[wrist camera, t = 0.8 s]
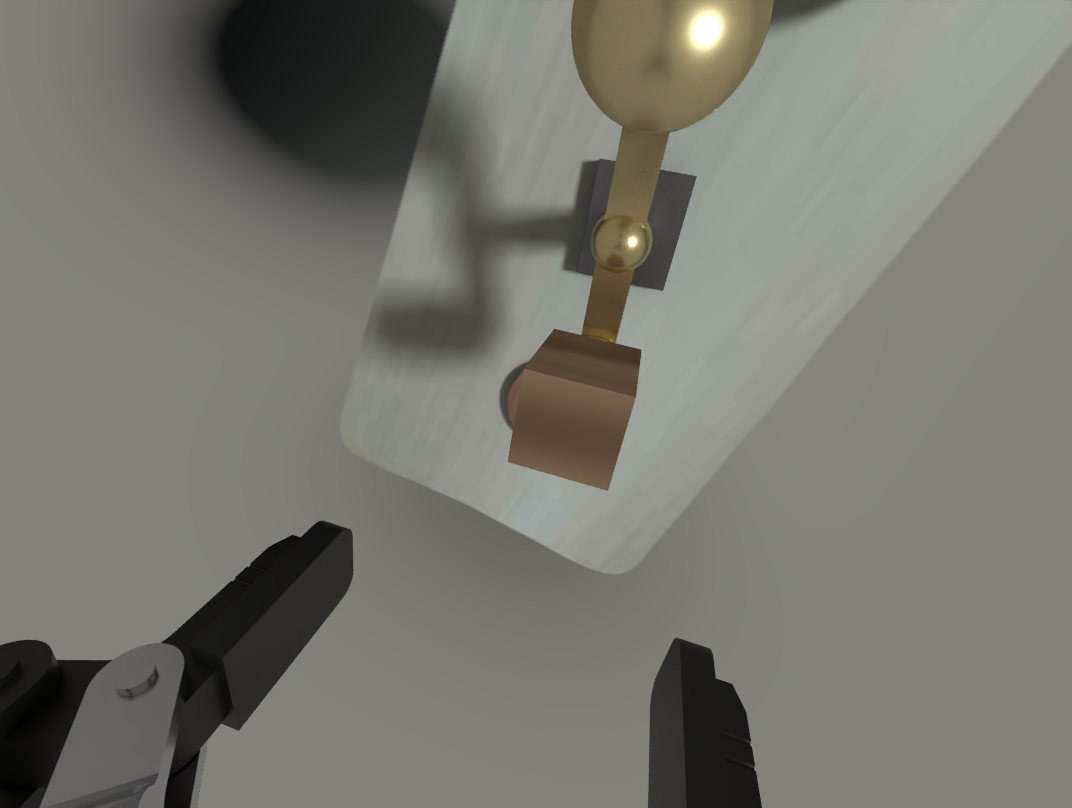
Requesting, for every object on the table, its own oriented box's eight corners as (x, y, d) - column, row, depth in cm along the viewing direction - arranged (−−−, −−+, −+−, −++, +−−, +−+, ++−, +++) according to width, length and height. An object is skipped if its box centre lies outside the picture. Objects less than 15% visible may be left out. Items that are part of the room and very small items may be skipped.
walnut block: (554, 328, 23) (523, 368, 18) (641, 349, 23) (635, 397, 18) (539, 406, 25) (507, 461, 20) (619, 427, 25) (607, 490, 20)
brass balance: (627, 35, 27) (593, -126, 13) (732, 50, 26) (811, -107, 12) (563, 344, 35) (504, 437, 22) (640, 362, 34) (628, 471, 21)
